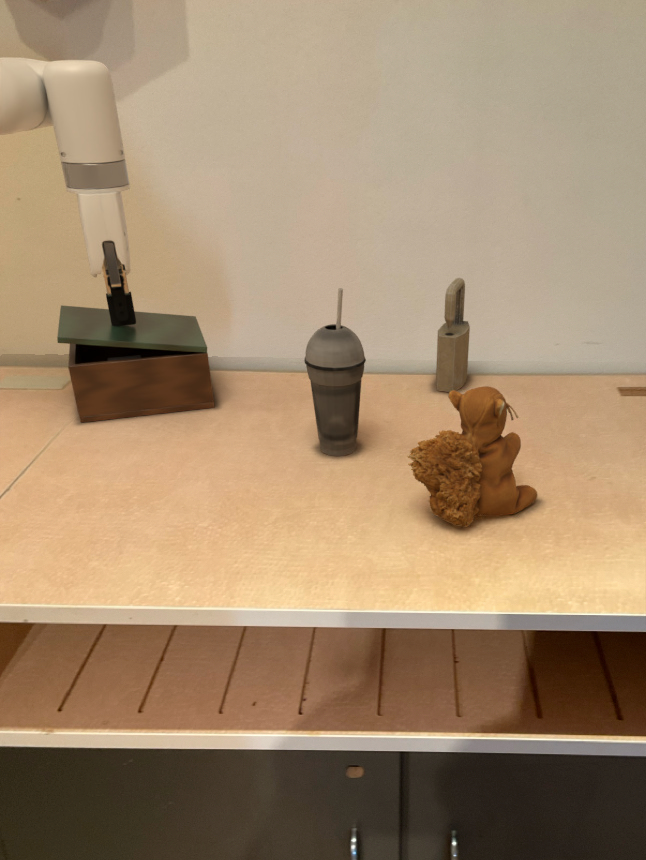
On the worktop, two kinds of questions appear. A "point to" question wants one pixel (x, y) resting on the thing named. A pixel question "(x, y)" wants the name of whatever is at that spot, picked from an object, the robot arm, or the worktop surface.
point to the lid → (130, 330)
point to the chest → (137, 381)
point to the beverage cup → (336, 384)
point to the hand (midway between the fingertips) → (124, 323)
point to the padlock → (453, 341)
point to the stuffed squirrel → (473, 462)
